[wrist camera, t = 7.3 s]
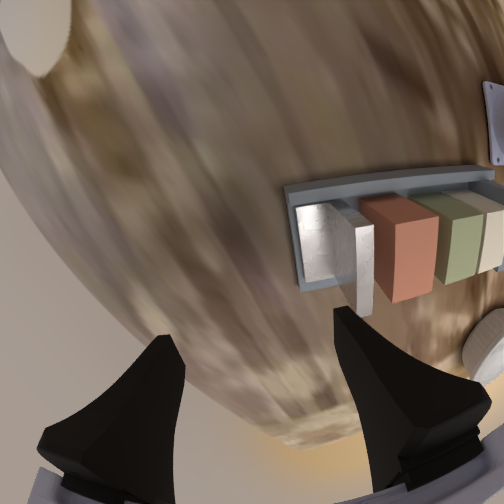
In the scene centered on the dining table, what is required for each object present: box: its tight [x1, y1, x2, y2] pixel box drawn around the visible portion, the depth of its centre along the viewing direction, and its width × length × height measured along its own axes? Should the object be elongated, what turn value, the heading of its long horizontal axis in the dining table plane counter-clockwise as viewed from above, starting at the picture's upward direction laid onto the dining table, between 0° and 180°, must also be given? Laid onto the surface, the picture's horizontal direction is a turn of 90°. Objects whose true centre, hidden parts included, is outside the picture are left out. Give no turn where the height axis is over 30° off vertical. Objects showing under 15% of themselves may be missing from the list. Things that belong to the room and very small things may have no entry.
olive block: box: [408, 192, 484, 285], centre depth 16 cm, size 3×4×6 cm
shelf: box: [284, 165, 504, 292], centre depth 17 cm, size 18×8×6 cm, turn 101°
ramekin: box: [462, 308, 504, 386], centre depth 24 cm, size 11×11×5 cm
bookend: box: [294, 198, 374, 317], centre depth 16 cm, size 3×6×6 cm, turn 11°
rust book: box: [358, 193, 439, 303], centre depth 16 cm, size 3×5×6 cm, turn 12°
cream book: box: [442, 189, 504, 274], centre depth 16 cm, size 3×4×6 cm
